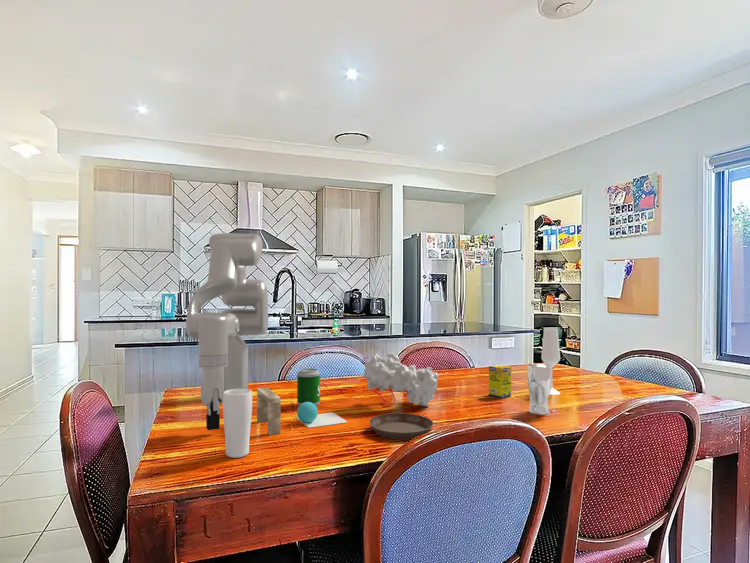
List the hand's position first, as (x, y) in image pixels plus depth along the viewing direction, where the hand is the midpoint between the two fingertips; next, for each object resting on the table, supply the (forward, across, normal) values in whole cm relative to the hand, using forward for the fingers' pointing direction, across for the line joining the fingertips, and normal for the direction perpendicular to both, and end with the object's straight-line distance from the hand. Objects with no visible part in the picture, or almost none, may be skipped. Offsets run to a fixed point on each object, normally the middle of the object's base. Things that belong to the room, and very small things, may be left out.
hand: (212, 428), depth 130 cm
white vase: (+2, +22, +96) cm, 99 cm away
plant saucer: (+2, +20, +47) cm, 51 cm away
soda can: (+2, -18, +33) cm, 38 cm away
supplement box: (+2, -1, +100) cm, 100 cm away
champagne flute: (+2, +3, +121) cm, 121 cm away
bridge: (+2, 0, +15) cm, 15 cm away
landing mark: (+2, 0, +31) cm, 31 cm away
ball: (-2, +1, +26) cm, 26 cm away
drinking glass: (+2, +19, +3) cm, 19 cm away
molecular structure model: (+2, -5, +60) cm, 60 cm away
